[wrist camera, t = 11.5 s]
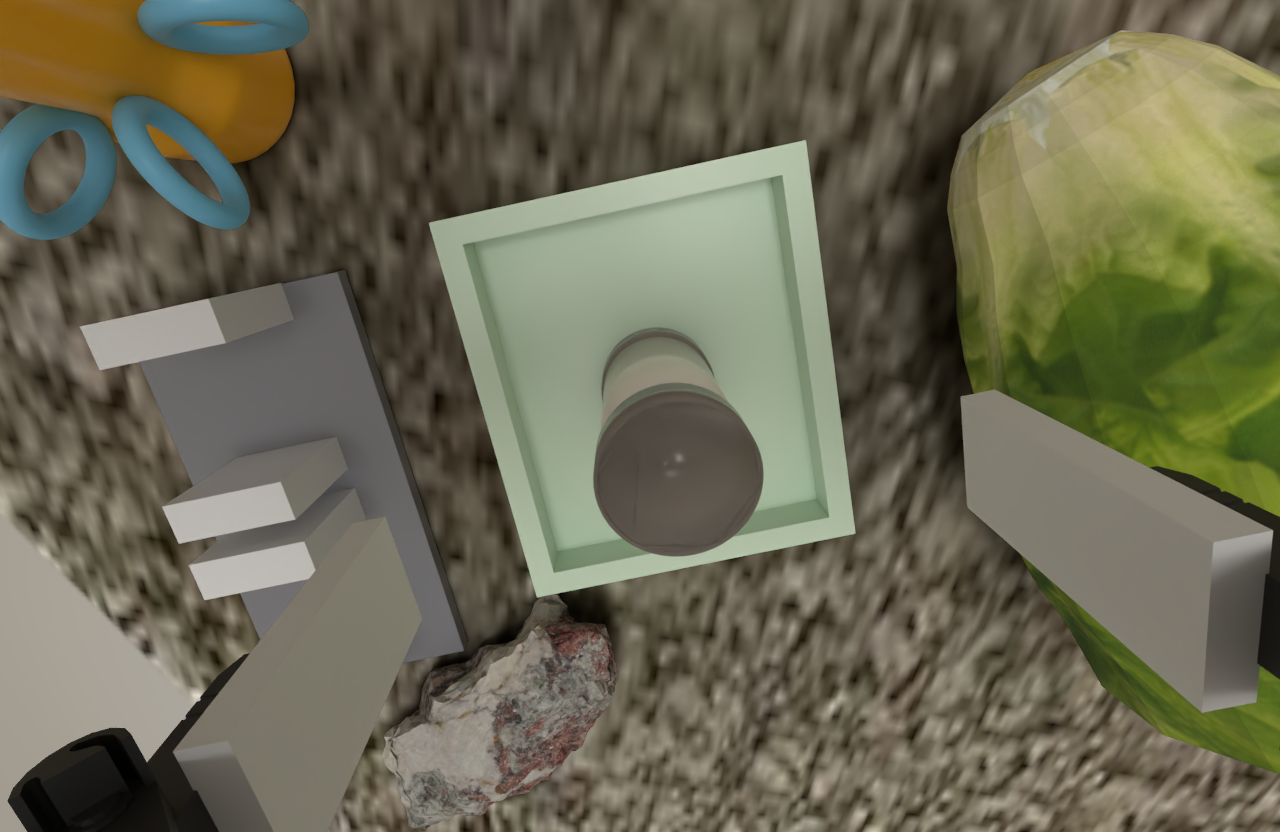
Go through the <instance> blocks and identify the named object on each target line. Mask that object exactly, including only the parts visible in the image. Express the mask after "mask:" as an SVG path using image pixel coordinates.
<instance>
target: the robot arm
mask: <svg viewBox="0 0 1280 832" xmlns="http://www.w3.org/2000/svg"><path fill="white" fill-rule="evenodd" d="M961 413H962V430H963V446H964V463H965V480H966V496H967V508H969V509H970V510H971V511H972V512H973V513H974V514H975V515H977V516H978V517H979V518H980V519H981V520H982V521H983V522H985V523H986V524H987V525H988V526H989V527H990V528H991V529H993V530H994V531H995V532H996V533H997V534H998V535H999V536H1001V537H1002V538H1003V539H1004V540H1005V541H1006V542H1007V543H1009V544H1010V545H1011V546H1012V547H1013V548H1014V549H1015V550H1017V551H1018V552H1019V553H1020V554H1021V555H1022V556H1023V557H1025V558H1026V559H1027V560H1028V561H1029V562H1030V563H1031V564H1033V565H1034V566H1035V567H1036V568H1037V569H1038V570H1039V571H1041V572H1042V573H1043V574H1044V575H1045V576H1046V577H1047V578H1049V579H1050V580H1051V581H1052V582H1053V583H1054V584H1055V585H1056V586H1058V587H1059V588H1060V589H1061V590H1062V591H1063V592H1064V593H1066V594H1067V595H1068V596H1069V597H1070V598H1071V599H1072V600H1074V601H1075V602H1076V603H1077V604H1078V605H1079V606H1080V607H1082V608H1083V609H1084V610H1085V611H1086V612H1087V613H1088V614H1090V615H1091V616H1092V617H1093V618H1094V619H1095V620H1096V621H1098V622H1099V623H1100V624H1101V625H1102V626H1103V627H1104V628H1106V629H1107V630H1108V631H1109V632H1110V633H1111V634H1112V635H1114V636H1115V637H1116V638H1117V639H1118V640H1119V641H1120V642H1122V643H1123V644H1124V645H1125V646H1126V647H1127V648H1128V649H1130V650H1131V651H1132V652H1133V653H1134V654H1135V655H1136V656H1138V657H1139V658H1140V659H1141V660H1142V661H1143V662H1144V663H1146V664H1147V665H1148V666H1149V667H1150V668H1151V669H1152V670H1153V671H1155V672H1156V673H1157V674H1158V675H1159V676H1160V677H1161V678H1163V679H1164V680H1165V681H1166V682H1167V683H1168V684H1169V685H1171V686H1172V687H1173V688H1174V689H1175V690H1176V691H1177V692H1179V693H1180V694H1181V695H1182V696H1183V697H1184V698H1185V699H1187V700H1188V701H1189V702H1190V703H1191V704H1192V705H1193V706H1195V707H1196V708H1197V709H1198V710H1199V711H1200V712H1201V713H1204V712H1209V711H1214V710H1219V709H1224V708H1230V707H1235V706H1240V705H1245V704H1250V703H1255V702H1256V700H1257V690H1258V680H1259V670H1260V666H1262V667H1263V668H1264V669H1266V670H1267V671H1268V672H1270V673H1271V674H1273V675H1274V676H1275V677H1277V678H1278V679H1279V680H1280V517H1279V516H1277V515H1275V514H1273V513H1270V512H1268V511H1266V510H1264V509H1262V508H1260V507H1258V506H1256V505H1254V504H1252V503H1250V502H1247V503H1244V501H1243V499H1241V498H1239V497H1237V496H1235V495H1233V494H1231V493H1229V492H1227V491H1223V492H1221V490H1220V488H1219V487H1216V486H1214V485H1212V484H1210V483H1208V482H1206V481H1204V480H1202V479H1200V478H1198V477H1196V476H1194V475H1191V474H1187V473H1183V472H1179V471H1175V470H1171V469H1167V468H1163V467H1159V466H1155V467H1150V468H1149V467H1147V466H1145V465H1143V464H1141V463H1139V462H1137V461H1135V460H1133V459H1131V458H1129V457H1127V456H1125V455H1123V454H1121V453H1119V452H1117V451H1115V450H1113V449H1111V448H1109V447H1107V446H1105V445H1103V444H1101V443H1100V442H1098V441H1096V440H1094V439H1092V438H1090V437H1088V436H1086V435H1084V434H1082V433H1080V432H1078V431H1076V430H1074V429H1072V428H1070V427H1068V426H1066V425H1064V424H1062V423H1060V422H1058V421H1056V420H1054V419H1052V418H1050V417H1048V416H1046V415H1044V414H1042V413H1040V412H1038V411H1036V410H1034V409H1032V408H1030V407H1028V406H1026V405H1024V404H1023V403H1021V402H1019V401H1017V400H1015V399H1013V398H1011V397H1009V396H1007V395H1005V394H1003V393H1001V392H999V391H997V390H990V391H985V392H980V393H976V394H971V395H966V396H961ZM421 620H422V616H421V614H420V611H419V608H418V605H417V603H416V600H415V597H414V594H413V591H412V589H411V586H410V583H409V580H408V578H407V575H406V572H405V569H404V567H403V564H402V561H401V558H400V556H399V553H398V550H397V547H396V545H395V542H394V539H393V536H392V534H391V531H390V528H389V525H388V522H387V520H386V517H381V518H376V519H371V520H366V521H361V522H357V523H352V525H351V526H350V527H349V528H348V530H347V531H346V532H345V534H344V535H343V536H342V537H341V539H340V540H339V541H338V542H337V544H336V545H335V546H334V548H333V549H332V550H331V551H330V553H329V554H328V555H327V556H326V558H325V559H324V560H323V562H322V563H321V564H320V565H319V567H318V568H317V569H316V570H315V572H314V573H313V574H312V575H311V577H310V578H309V579H308V581H307V582H306V583H305V584H304V586H303V587H302V588H301V589H300V591H299V592H298V593H297V595H296V596H295V597H294V598H293V600H292V601H291V602H290V603H289V605H288V606H287V607H286V609H285V610H284V611H283V612H282V614H281V615H280V616H279V617H278V619H277V620H276V621H275V622H274V624H273V625H272V626H271V628H270V629H269V630H268V631H267V633H266V634H265V635H264V636H263V638H262V639H261V640H260V642H259V643H258V644H257V645H256V647H255V648H254V649H253V650H252V652H251V653H249V654H244V655H243V656H242V657H241V658H239V659H238V660H237V661H236V662H234V663H233V664H232V665H231V666H229V667H228V668H227V669H226V670H225V671H223V672H222V673H221V674H220V675H218V676H217V678H216V679H215V680H214V681H213V683H212V684H211V685H210V686H209V687H208V689H207V690H206V691H205V692H204V694H203V695H202V696H201V697H200V698H201V701H198V702H196V703H195V705H194V706H193V707H192V708H191V710H190V711H189V712H188V713H187V714H186V719H185V720H181V722H180V723H179V724H178V726H177V727H176V728H175V729H174V730H173V731H172V733H171V734H170V735H169V736H168V738H167V739H166V740H165V741H164V742H163V744H162V745H161V746H160V747H159V749H158V750H157V751H156V752H155V754H154V755H153V756H152V757H151V759H150V760H149V761H148V762H146V760H145V759H144V757H143V755H142V753H141V751H140V750H139V748H138V746H137V744H136V743H135V741H134V739H133V737H132V735H131V734H130V733H129V732H128V731H127V730H126V729H125V728H109V729H105V730H101V731H98V732H94V733H91V734H89V735H86V736H84V737H82V738H80V739H78V740H75V741H73V742H71V743H69V744H67V745H66V746H64V747H62V748H61V749H59V750H57V751H56V752H54V753H52V754H51V755H49V756H48V757H46V758H45V759H44V760H42V761H41V762H40V763H39V764H37V765H36V766H35V767H34V768H32V769H31V770H30V771H29V772H27V773H26V775H25V776H24V777H23V778H22V779H21V780H20V781H19V782H18V783H17V784H16V786H15V787H14V788H13V790H12V792H11V794H10V797H9V799H8V803H9V804H10V806H11V807H12V809H13V810H14V812H15V813H16V815H17V816H18V818H19V819H20V821H21V823H22V824H23V826H24V827H25V829H26V830H27V832H327V831H328V829H329V827H330V824H331V822H332V820H333V818H334V815H335V813H336V811H337V809H338V807H339V804H340V802H341V800H342V798H343V795H344V793H345V791H346V789H347V786H348V784H349V782H350V780H351V777H352V775H353V773H354V771H355V768H356V766H357V764H358V762H359V759H360V757H361V755H362V753H363V750H364V748H365V746H366V744H367V741H368V739H369V737H370V735H371V732H372V730H373V728H374V726H375V723H376V721H377V719H378V717H379V715H380V712H381V710H382V708H383V706H384V703H385V701H386V699H387V697H388V694H389V692H390V690H391V688H392V685H393V683H394V681H395V679H396V676H397V674H398V672H399V670H400V667H401V665H402V663H403V661H404V658H405V656H406V654H407V652H408V649H409V647H410V645H411V643H412V640H413V638H414V636H415V634H416V631H417V629H418V627H419V625H420V623H421ZM1279 751H1280V747H1279Z"/></svg>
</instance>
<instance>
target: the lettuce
mask: <svg viewBox="0 0 1280 832" xmlns="http://www.w3.org/2000/svg"><path fill="white" fill-rule="evenodd" d="M947 212H948V218H949V224H950V230H951V235H952V241H953V247H954V253H955V259H956V265H957V305H956V313H957V319H958V325H959V332H960V338H961V344H962V350H963V357H964V361H965V365H966V368H967V372H968V375H969V379H970V383H971V386H972V390H973V393H974V394H976V393H980V392H985V391H990V390H997V391H999V392H1001V393H1003V394H1005V395H1007V396H1009V397H1011V398H1013V399H1015V400H1017V401H1019V402H1021V403H1023V404H1024V405H1026V406H1028V407H1030V408H1032V409H1034V410H1036V411H1038V412H1040V413H1042V414H1044V415H1046V416H1048V417H1050V418H1052V419H1054V420H1056V421H1058V422H1060V423H1062V424H1064V425H1066V426H1068V427H1070V428H1072V429H1074V430H1076V431H1078V432H1080V433H1082V434H1084V435H1086V436H1088V437H1090V438H1092V439H1094V440H1096V441H1098V442H1100V443H1101V444H1103V445H1105V446H1107V447H1109V448H1111V449H1113V450H1115V451H1117V452H1119V453H1121V454H1123V455H1125V456H1127V457H1129V458H1131V459H1133V460H1135V461H1137V462H1139V463H1141V464H1143V465H1145V466H1147V467H1149V468H1150V467H1155V466H1159V467H1163V468H1167V469H1171V470H1175V471H1179V472H1183V473H1187V474H1191V475H1194V476H1196V477H1198V478H1200V479H1202V480H1204V481H1206V482H1208V483H1210V484H1212V485H1214V486H1216V487H1219V488H1220V490H1221V492H1223V491H1227V492H1229V493H1231V494H1233V495H1235V496H1237V497H1239V498H1241V499H1243V501H1244V503H1247V502H1250V503H1252V504H1254V505H1256V506H1258V507H1260V508H1262V509H1264V510H1266V511H1268V512H1270V513H1273V514H1275V515H1277V516H1279V517H1280V76H1279V75H1277V74H1275V73H1273V72H1271V71H1269V70H1267V69H1264V68H1262V67H1260V66H1258V65H1256V64H1254V63H1252V62H1250V61H1248V60H1246V59H1244V58H1242V57H1240V56H1238V55H1236V54H1234V53H1232V52H1230V51H1228V50H1226V49H1223V48H1221V47H1219V46H1217V45H1213V44H1209V43H1205V42H1201V41H1197V40H1193V39H1189V38H1185V37H1181V36H1177V35H1173V34H1162V33H1149V32H1137V31H1125V30H1121V31H1119V32H1117V33H1114V34H1112V35H1110V36H1108V37H1106V38H1103V39H1101V40H1099V41H1097V42H1095V43H1092V44H1090V45H1088V46H1086V47H1084V48H1081V49H1079V50H1077V51H1075V52H1073V53H1071V54H1068V55H1066V56H1064V57H1062V58H1060V59H1057V60H1055V61H1053V62H1051V63H1049V64H1046V65H1044V66H1042V67H1040V68H1038V69H1035V70H1033V71H1031V72H1029V73H1028V74H1026V75H1025V76H1024V77H1023V78H1022V79H1021V80H1020V81H1019V82H1018V83H1017V84H1016V85H1015V86H1014V87H1013V88H1012V89H1011V90H1010V91H1008V92H1007V93H1006V94H1005V95H1004V96H1003V97H1002V98H1001V99H1000V100H999V101H998V102H997V103H996V104H995V105H994V106H993V107H992V108H991V109H989V110H988V111H987V112H986V113H985V114H984V115H983V116H982V117H981V118H980V119H979V120H978V121H977V122H976V123H975V124H974V125H973V126H971V127H970V128H969V129H968V130H967V131H966V132H965V133H964V134H963V135H962V136H961V140H960V143H959V147H958V151H957V154H956V158H955V162H954V165H953V169H952V172H951V178H950V187H949V196H948V205H947ZM1021 556H1022V555H1021ZM1022 558H1023V560H1024V562H1025V564H1026V566H1027V568H1028V569H1029V571H1030V573H1031V575H1032V577H1033V579H1034V580H1035V581H1036V583H1037V584H1038V585H1039V587H1040V588H1041V590H1042V591H1043V592H1044V594H1045V595H1046V596H1047V598H1048V599H1049V600H1050V602H1051V603H1052V605H1053V606H1054V607H1055V609H1056V610H1057V611H1058V613H1059V614H1060V616H1061V617H1062V618H1063V620H1064V621H1065V622H1066V624H1067V625H1068V627H1069V629H1070V631H1071V632H1072V634H1073V636H1074V638H1075V639H1076V641H1077V643H1078V645H1079V646H1080V648H1081V650H1082V652H1083V653H1084V655H1085V657H1086V659H1087V660H1088V662H1089V664H1090V666H1091V667H1092V669H1093V671H1094V673H1095V674H1096V676H1097V678H1098V680H1099V681H1100V683H1101V685H1102V686H1103V687H1104V688H1105V689H1106V690H1108V691H1109V692H1110V693H1111V694H1113V695H1114V696H1115V697H1117V698H1118V699H1119V700H1120V701H1122V702H1123V703H1124V704H1125V705H1127V706H1128V707H1129V708H1130V709H1132V710H1133V711H1134V712H1135V713H1137V714H1138V715H1139V716H1140V717H1142V718H1143V719H1144V720H1146V721H1147V722H1148V723H1149V724H1151V725H1152V726H1153V727H1154V728H1156V729H1157V730H1158V731H1159V732H1161V733H1162V734H1163V735H1165V736H1168V737H1171V738H1174V739H1177V740H1180V741H1183V742H1186V743H1189V744H1192V745H1195V746H1198V747H1201V748H1204V749H1207V750H1210V751H1212V752H1215V753H1218V754H1221V755H1224V756H1227V757H1230V758H1233V759H1236V760H1239V761H1242V762H1245V763H1248V764H1251V765H1254V766H1257V767H1260V768H1263V769H1265V770H1268V771H1271V772H1274V773H1278V774H1280V751H1279V747H1280V680H1279V679H1278V678H1277V677H1275V676H1274V675H1273V674H1271V673H1270V672H1268V671H1267V670H1266V669H1264V668H1263V667H1262V666H1260V670H1259V680H1258V690H1257V700H1256V702H1255V703H1250V704H1245V705H1240V706H1235V707H1230V708H1224V709H1219V710H1214V711H1209V712H1204V713H1201V712H1200V711H1199V710H1198V709H1197V708H1196V707H1195V706H1193V705H1192V704H1191V703H1190V702H1189V701H1188V700H1187V699H1185V698H1184V697H1183V696H1182V695H1181V694H1180V693H1179V692H1177V691H1176V690H1175V689H1174V688H1173V687H1172V686H1171V685H1169V684H1168V683H1167V682H1166V681H1165V680H1164V679H1163V678H1161V677H1160V676H1159V675H1158V674H1157V673H1156V672H1155V671H1153V670H1152V669H1151V668H1150V667H1149V666H1148V665H1147V664H1146V663H1144V662H1143V661H1142V660H1141V659H1140V658H1139V657H1138V656H1136V655H1135V654H1134V653H1133V652H1132V651H1131V650H1130V649H1128V648H1127V647H1126V646H1125V645H1124V644H1123V643H1122V642H1120V641H1119V640H1118V639H1117V638H1116V637H1115V636H1114V635H1112V634H1111V633H1110V632H1109V631H1108V630H1107V629H1106V628H1104V627H1103V626H1102V625H1101V624H1100V623H1099V622H1098V621H1096V620H1095V619H1094V618H1093V617H1092V616H1091V615H1090V614H1088V613H1087V612H1086V611H1085V610H1084V609H1083V608H1082V607H1080V606H1079V605H1078V604H1077V603H1076V602H1075V601H1074V600H1072V599H1071V598H1070V597H1069V596H1068V595H1067V594H1066V593H1064V592H1063V591H1062V590H1061V589H1060V588H1059V587H1058V586H1056V585H1055V584H1054V583H1053V582H1052V581H1051V580H1050V579H1049V578H1047V577H1046V576H1045V575H1044V574H1043V573H1042V572H1041V571H1039V570H1038V569H1037V568H1036V567H1035V566H1034V565H1033V564H1031V563H1030V562H1029V561H1028V560H1027V559H1026V558H1025V557H1023V556H1022Z"/></svg>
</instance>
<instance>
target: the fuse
mask: <svg viewBox="0 0 1280 832" xmlns="http://www.w3.org/2000/svg"><path fill="white" fill-rule="evenodd" d="M601 390H602V401H603V407H602V419H601V432H600V434H599V437H598V441H597V445H596V452H595V462H594V473H593V487H594V493H595V498H596V501H597V504H598V507H599V509H600V511H601V513H602V515H603V517H604V519H605V520H606V522H607V523H608V525H609V526H610V527H611V528H612V529H613V530H614V531H615V533H617V534H618V535H619V536H620V537H621V538H622V539H624V540H625V541H627V542H628V543H630V544H631V545H633V546H635V547H637V548H639V549H641V550H643V551H646V552H649V553H652V554H657V555H662V556H671V557H678V556H690V555H695V554H699V553H703V552H706V551H709V550H711V549H714V548H716V547H718V546H720V545H721V544H723V543H725V542H726V541H728V540H729V539H731V538H732V537H733V536H734V535H735V534H737V533H738V532H739V531H740V530H741V529H742V528H743V526H744V525H745V524H746V523H747V522H748V520H749V519H750V517H751V516H752V514H753V513H754V511H755V509H756V507H757V505H758V502H759V499H760V496H761V492H762V487H763V476H764V472H763V462H762V458H761V454H760V451H759V448H758V446H757V443H756V441H755V440H754V438H753V436H752V434H751V433H750V431H749V429H748V428H747V426H746V424H745V423H744V421H743V419H742V418H741V416H740V415H739V413H738V412H737V411H736V409H735V408H734V407H733V406H732V405H731V404H730V403H729V402H728V400H727V398H726V397H725V395H724V393H723V391H722V390H721V388H720V386H719V384H718V383H717V381H716V379H715V377H714V373H713V370H712V368H711V365H710V364H709V362H708V360H707V358H706V357H705V355H704V353H703V352H702V350H701V349H700V348H699V346H698V345H697V344H696V343H695V342H694V341H693V340H692V339H690V338H689V337H688V336H686V335H684V334H682V333H680V332H678V331H675V330H672V329H668V328H661V327H655V328H646V329H642V330H639V331H636V332H634V333H632V334H630V335H628V336H627V337H625V338H624V339H623V340H621V341H620V342H619V343H618V344H617V345H616V346H615V347H614V349H613V350H612V351H611V353H610V355H609V356H608V358H607V361H606V363H605V366H604V370H603V377H602V388H601Z"/></svg>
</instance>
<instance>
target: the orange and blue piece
mask: <svg viewBox="0 0 1280 832" xmlns="http://www.w3.org/2000/svg"><path fill="white" fill-rule="evenodd" d="M308 31H309V22H308V19H307V16H306V15H305V13H304V12H303V10H302V9H301V8H300V7H299V6H297V5H296V4H295V3H293V2H291V1H289V0H0V97H4V98H9V99H14V100H20V101H25V102H31V103H36V104H35V105H33V106H31V107H29V108H27V109H25V110H23V111H22V112H20V113H19V114H17V115H16V116H15V117H14V118H13V119H12V120H11V121H10V122H9V123H8V124H7V125H6V126H5V127H4V128H3V130H2V131H1V132H0V220H1V221H2V222H3V223H4V224H5V225H6V226H7V227H9V228H10V229H11V230H13V231H14V232H16V233H18V234H20V235H22V236H25V237H28V238H32V239H38V240H53V239H58V238H62V237H65V236H68V235H70V234H73V233H75V232H76V231H78V230H80V229H81V228H83V227H84V226H85V225H86V224H88V223H89V222H90V221H91V220H92V219H93V218H94V217H95V216H96V215H97V213H98V212H99V211H100V210H101V208H102V207H103V205H104V204H105V202H106V200H107V198H108V196H109V194H110V192H111V189H112V186H113V183H114V179H115V175H116V167H117V156H116V148H115V144H114V142H116V143H118V144H119V145H120V146H121V148H122V149H123V151H124V153H125V154H126V156H127V157H128V159H129V160H130V162H131V163H132V164H133V166H134V167H135V168H136V169H137V171H138V172H139V173H140V174H141V175H142V177H143V178H144V179H145V180H146V181H147V182H148V183H149V184H150V185H151V186H152V187H153V188H154V189H155V190H156V191H157V192H158V193H159V194H160V195H161V196H162V197H164V198H165V199H166V200H167V201H168V202H170V203H171V204H172V205H173V206H175V207H176V208H177V209H179V210H180V211H182V212H183V213H185V214H186V215H188V216H189V217H191V218H193V219H194V220H196V221H198V222H200V223H202V224H205V225H207V226H210V227H213V228H217V229H223V230H230V229H235V228H238V227H240V226H242V225H243V224H244V223H245V222H246V221H247V219H248V217H249V214H250V201H249V197H248V194H247V191H246V189H245V187H244V184H243V182H242V181H241V179H240V177H239V175H238V174H237V172H236V170H235V169H234V168H233V166H232V165H231V163H239V162H243V161H247V160H250V159H253V158H255V157H257V156H259V155H261V154H263V153H264V152H266V151H267V150H268V149H269V148H271V147H272V146H273V145H274V144H275V143H276V142H277V141H278V140H279V138H280V137H281V135H282V134H283V133H284V131H285V130H286V128H287V125H288V123H289V121H290V119H291V116H292V111H293V106H294V102H295V82H294V77H293V71H292V66H291V64H290V61H289V58H288V55H287V52H286V50H285V48H288V47H291V46H294V45H296V44H298V43H299V42H301V41H302V40H303V39H304V38H305V37H306V36H307V34H308ZM67 129H70V130H74V131H76V132H77V133H78V134H79V135H80V136H81V138H82V140H83V142H84V145H85V150H86V165H85V170H84V174H83V177H82V180H81V182H80V184H79V186H78V188H77V189H76V191H75V193H74V194H73V195H72V196H71V198H70V199H69V200H68V201H67V202H66V203H65V204H63V205H62V206H61V207H59V208H58V209H56V210H54V211H52V212H49V213H45V214H38V213H35V212H33V211H32V210H31V209H30V208H29V206H28V204H27V202H26V199H25V195H24V177H25V173H26V169H27V166H28V164H29V161H30V159H31V157H32V155H33V154H34V152H35V151H36V149H37V148H38V147H39V146H40V145H41V143H42V142H43V141H45V140H46V139H47V138H48V137H50V136H51V135H53V134H54V133H56V132H59V131H62V130H67ZM164 157H167V158H175V159H184V160H193V161H198V163H199V164H200V165H201V166H202V167H203V168H204V170H205V171H206V172H207V174H208V175H209V176H210V178H211V179H212V181H213V182H214V184H215V185H216V187H217V189H218V191H219V193H220V196H221V199H222V203H219V202H217V201H215V200H213V199H211V198H209V197H207V196H206V195H204V194H203V193H201V192H200V191H199V190H197V189H196V188H195V187H193V186H192V185H191V184H190V183H189V182H187V181H186V180H185V179H184V178H183V177H182V176H181V175H180V174H179V173H178V172H177V171H176V170H175V169H174V168H173V167H172V166H171V165H170V163H169V162H168V161H167V160H166V159H165V158H164Z"/></svg>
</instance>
